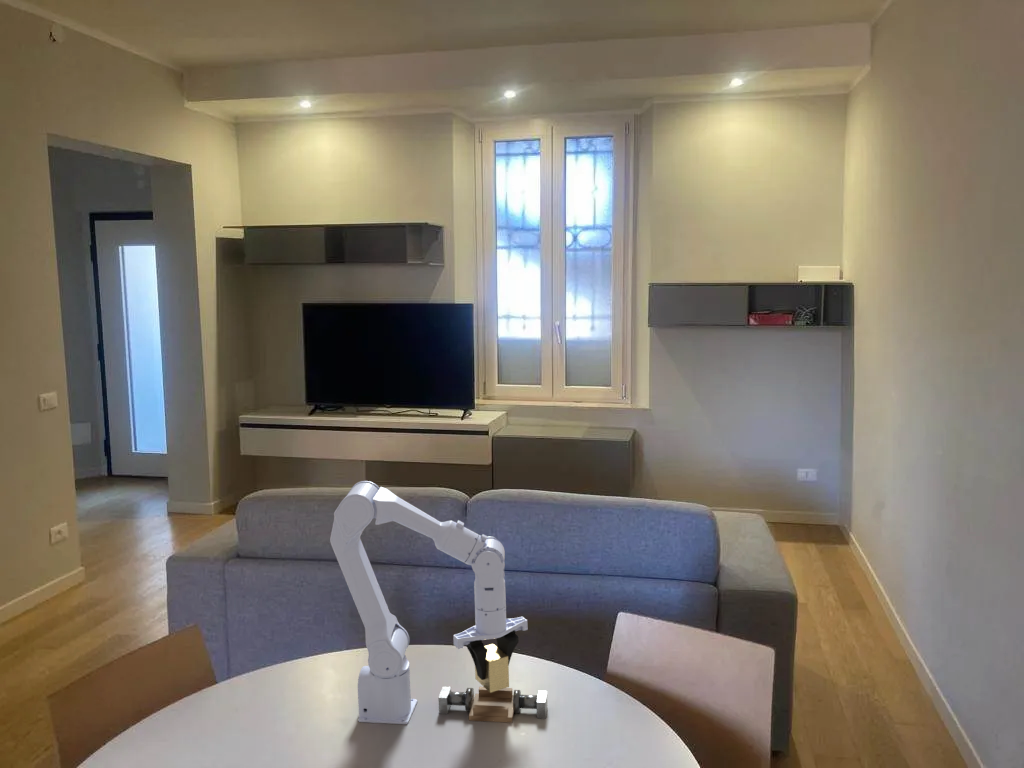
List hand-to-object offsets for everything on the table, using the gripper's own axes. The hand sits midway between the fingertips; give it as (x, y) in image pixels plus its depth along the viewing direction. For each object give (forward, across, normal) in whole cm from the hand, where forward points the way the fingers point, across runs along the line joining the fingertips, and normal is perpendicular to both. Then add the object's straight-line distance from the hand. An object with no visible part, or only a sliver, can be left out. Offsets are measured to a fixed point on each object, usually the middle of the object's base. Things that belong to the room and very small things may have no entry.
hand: (492, 673), depth 150 cm
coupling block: (+2, 0, 0) cm, 2 cm away
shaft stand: (+7, 0, 0) cm, 7 cm away
